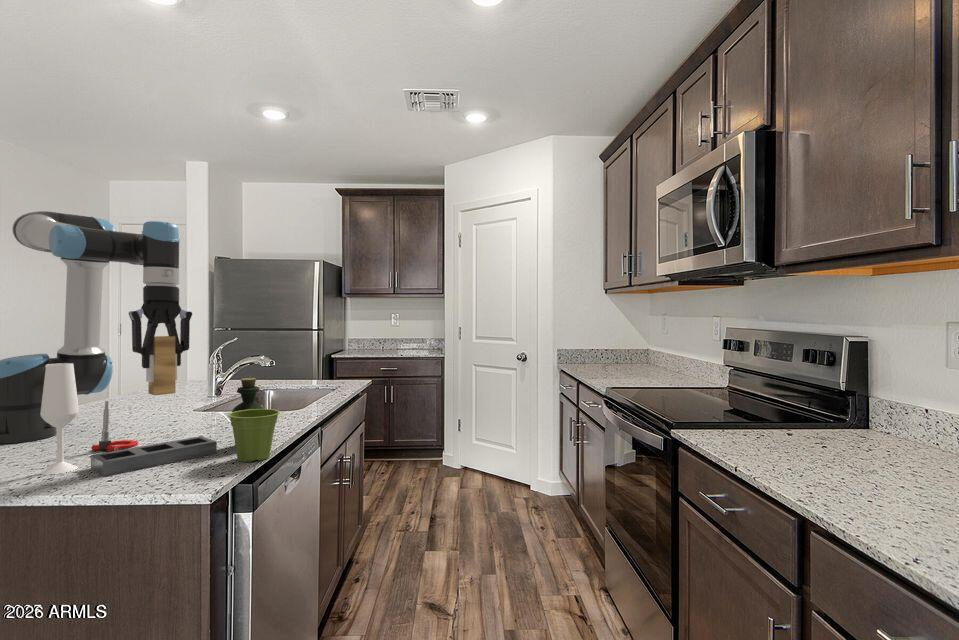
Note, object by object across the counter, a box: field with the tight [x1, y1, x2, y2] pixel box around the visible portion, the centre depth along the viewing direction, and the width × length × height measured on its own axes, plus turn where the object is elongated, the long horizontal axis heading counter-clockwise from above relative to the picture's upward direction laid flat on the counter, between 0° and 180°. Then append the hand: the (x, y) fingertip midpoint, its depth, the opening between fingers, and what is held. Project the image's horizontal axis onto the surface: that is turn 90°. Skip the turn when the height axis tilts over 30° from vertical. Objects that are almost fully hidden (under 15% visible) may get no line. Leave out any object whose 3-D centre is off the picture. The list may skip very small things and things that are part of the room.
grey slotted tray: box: [90, 435, 218, 477], centre depth 123 cm, size 9×24×3 cm, turn 141°
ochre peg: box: [147, 335, 176, 396], centre depth 125 cm, size 4×4×14 cm
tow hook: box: [91, 400, 139, 452], centre depth 135 cm, size 8×13×9 cm
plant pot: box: [227, 408, 281, 463], centre depth 125 cm, size 12×12×11 cm
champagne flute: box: [40, 363, 80, 476], centre depth 115 cm, size 7×7×24 cm
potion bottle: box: [231, 377, 265, 412], centre depth 137 cm, size 8×8×18 cm
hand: (161, 380), depth 125 cm, fingers closed on ochre peg, 4 cm apart
